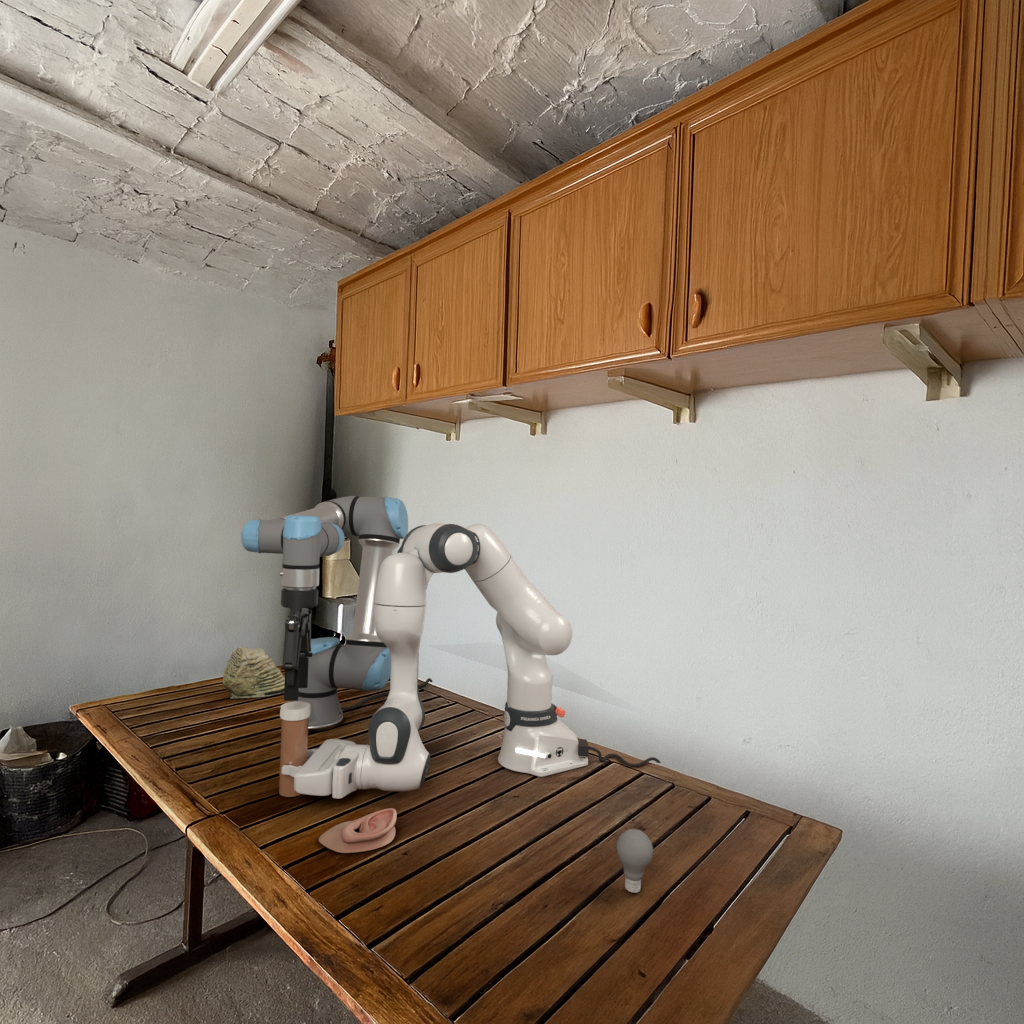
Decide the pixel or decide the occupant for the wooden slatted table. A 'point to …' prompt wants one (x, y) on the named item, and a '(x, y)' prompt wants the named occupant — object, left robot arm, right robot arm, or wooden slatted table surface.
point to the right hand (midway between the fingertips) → (289, 762)
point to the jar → (292, 752)
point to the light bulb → (634, 857)
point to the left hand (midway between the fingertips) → (296, 693)
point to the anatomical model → (362, 833)
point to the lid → (295, 711)
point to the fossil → (252, 674)
